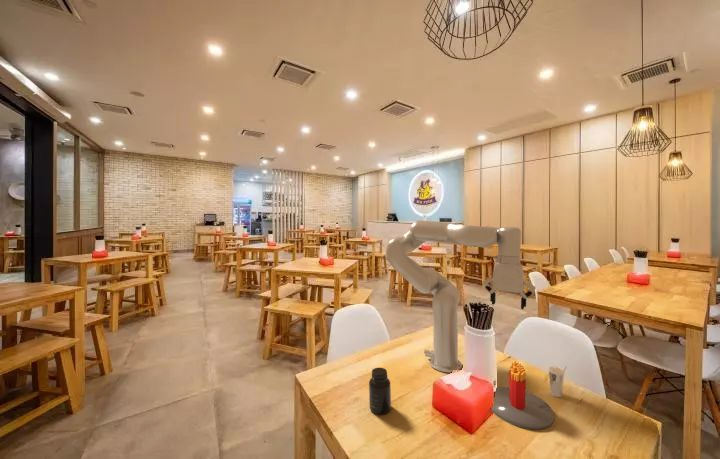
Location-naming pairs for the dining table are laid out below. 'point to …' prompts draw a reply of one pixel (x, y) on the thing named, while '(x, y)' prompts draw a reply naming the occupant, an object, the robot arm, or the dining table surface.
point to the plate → (530, 417)
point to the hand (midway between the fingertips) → (507, 306)
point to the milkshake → (556, 380)
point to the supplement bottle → (379, 392)
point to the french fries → (517, 385)
